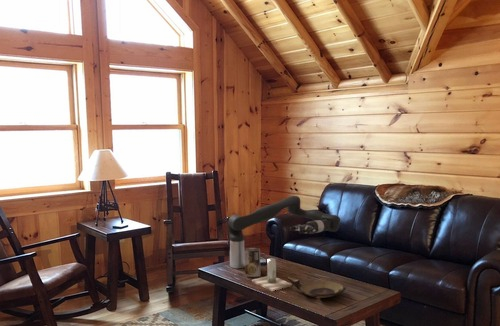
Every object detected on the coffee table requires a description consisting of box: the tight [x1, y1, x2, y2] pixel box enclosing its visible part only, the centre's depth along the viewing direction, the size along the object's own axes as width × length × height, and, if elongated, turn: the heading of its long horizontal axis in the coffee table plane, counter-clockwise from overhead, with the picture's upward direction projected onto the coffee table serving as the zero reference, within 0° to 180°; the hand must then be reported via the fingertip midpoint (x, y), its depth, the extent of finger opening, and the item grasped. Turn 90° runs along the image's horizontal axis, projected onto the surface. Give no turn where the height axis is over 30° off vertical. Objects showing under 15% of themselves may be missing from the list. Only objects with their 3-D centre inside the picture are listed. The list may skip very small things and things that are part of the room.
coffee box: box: [244, 247, 261, 278], centre depth 262 cm, size 9×6×16 cm
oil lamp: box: [287, 276, 347, 299], centre depth 230 cm, size 22×30×8 cm
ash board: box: [251, 275, 293, 292], centre depth 247 cm, size 19×14×1 cm
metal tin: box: [266, 257, 277, 283], centre depth 246 cm, size 5×5×13 cm
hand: (294, 230), depth 256 cm, fingers open, 8 cm apart
